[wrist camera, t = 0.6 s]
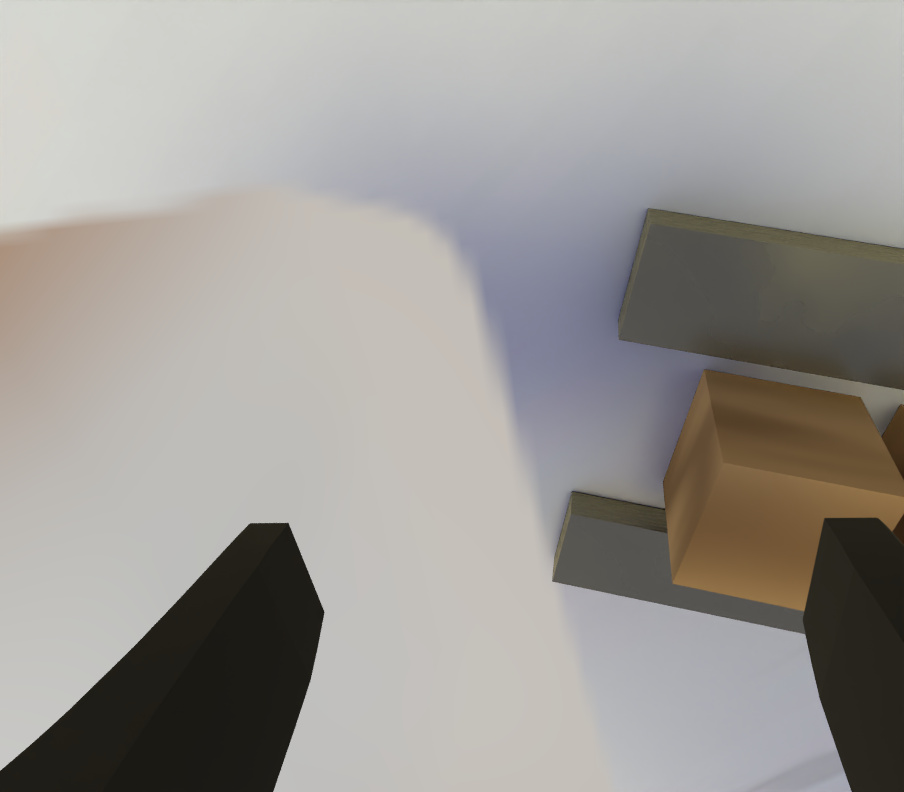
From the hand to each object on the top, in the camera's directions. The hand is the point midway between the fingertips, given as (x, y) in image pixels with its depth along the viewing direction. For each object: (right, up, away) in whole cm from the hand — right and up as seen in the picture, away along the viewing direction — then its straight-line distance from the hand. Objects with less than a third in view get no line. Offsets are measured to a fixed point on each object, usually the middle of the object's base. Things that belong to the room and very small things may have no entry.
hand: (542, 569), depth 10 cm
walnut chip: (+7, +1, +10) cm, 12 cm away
